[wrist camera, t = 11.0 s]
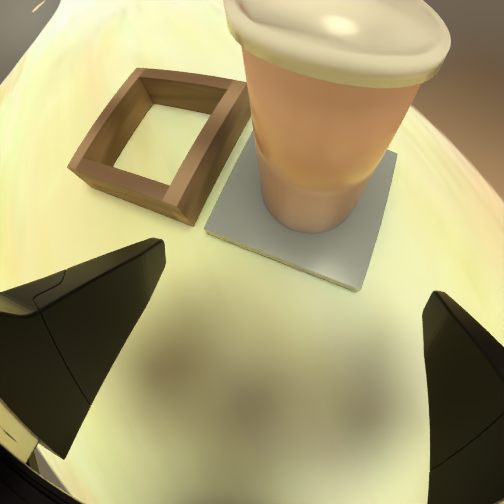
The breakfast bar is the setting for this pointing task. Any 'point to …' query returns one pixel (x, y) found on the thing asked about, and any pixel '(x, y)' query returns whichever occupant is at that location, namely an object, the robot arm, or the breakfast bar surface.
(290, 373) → the breakfast bar surface
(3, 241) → the breakfast bar surface
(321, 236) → the tile
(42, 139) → the breakfast bar surface
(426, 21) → the peach plastic cup
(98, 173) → the frame
